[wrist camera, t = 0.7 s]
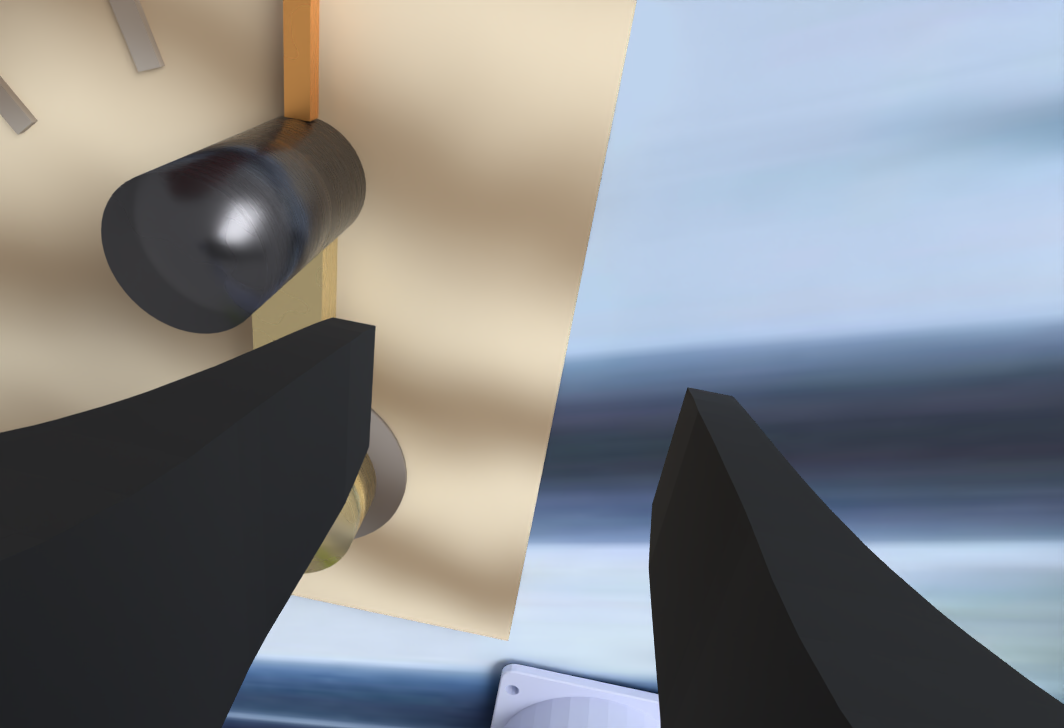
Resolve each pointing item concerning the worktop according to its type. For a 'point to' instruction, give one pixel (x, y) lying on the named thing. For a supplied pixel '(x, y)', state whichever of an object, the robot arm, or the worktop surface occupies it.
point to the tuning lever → (250, 232)
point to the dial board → (363, 248)
